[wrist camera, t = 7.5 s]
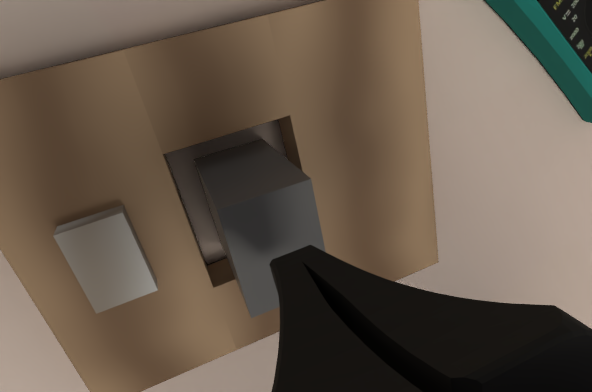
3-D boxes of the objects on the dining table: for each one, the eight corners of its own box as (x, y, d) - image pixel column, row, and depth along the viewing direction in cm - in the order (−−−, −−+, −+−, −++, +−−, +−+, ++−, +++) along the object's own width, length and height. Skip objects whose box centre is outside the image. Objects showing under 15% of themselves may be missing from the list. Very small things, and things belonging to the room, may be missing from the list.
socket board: (389, -17, 18) (428, -25, 16) (416, 245, 24) (448, 269, 22) (-63, 94, 14) (-106, 106, 12) (104, 376, 20) (99, 423, 18)
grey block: (262, 138, 19) (310, 178, 13) (282, 221, 20) (332, 285, 15) (193, 159, 18) (216, 210, 13) (221, 243, 20) (251, 318, 14)
